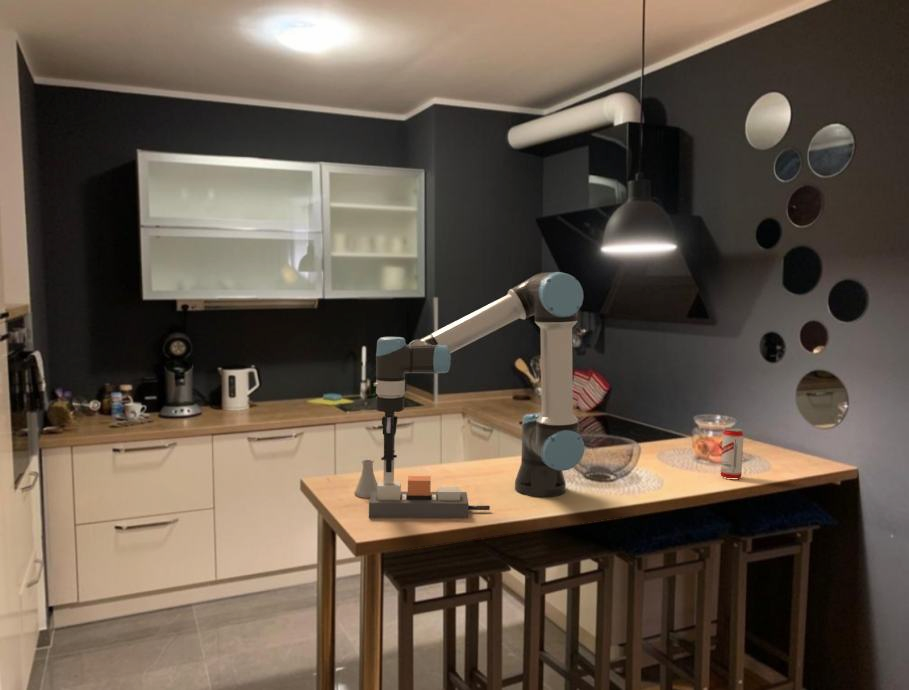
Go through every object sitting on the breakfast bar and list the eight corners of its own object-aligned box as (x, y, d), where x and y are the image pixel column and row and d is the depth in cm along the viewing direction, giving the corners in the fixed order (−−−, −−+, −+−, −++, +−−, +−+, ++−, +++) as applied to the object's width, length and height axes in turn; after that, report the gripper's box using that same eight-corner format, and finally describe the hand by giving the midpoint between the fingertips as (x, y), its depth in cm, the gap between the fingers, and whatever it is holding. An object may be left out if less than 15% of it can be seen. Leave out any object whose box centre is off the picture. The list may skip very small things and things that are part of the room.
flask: (367, 489, 211) (368, 456, 210) (385, 494, 207) (385, 460, 206) (349, 495, 206) (349, 460, 205) (367, 500, 201) (367, 465, 200)
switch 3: (459, 501, 194) (459, 487, 194) (460, 506, 190) (460, 492, 190) (437, 501, 194) (437, 487, 194) (437, 506, 190) (437, 491, 189)
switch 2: (430, 490, 194) (430, 476, 193) (430, 495, 189) (430, 480, 189) (408, 490, 194) (408, 475, 193) (407, 495, 189) (407, 480, 189)
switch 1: (400, 495, 194) (400, 481, 193) (400, 501, 189) (400, 486, 189) (378, 495, 193) (378, 481, 193) (377, 500, 189) (377, 486, 189)
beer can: (732, 474, 234) (734, 426, 233) (745, 479, 229) (748, 430, 227) (716, 476, 232) (718, 427, 231) (729, 481, 227) (732, 431, 225)
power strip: (487, 506, 198) (488, 491, 197) (491, 518, 188) (491, 503, 187) (371, 505, 196) (371, 491, 196) (368, 517, 186) (368, 502, 186)
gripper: (377, 391, 195) (376, 475, 197) (373, 399, 182) (372, 490, 184) (405, 391, 195) (403, 476, 197) (403, 400, 182) (401, 490, 185)
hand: (388, 482), depth 191 cm, fingers closed
